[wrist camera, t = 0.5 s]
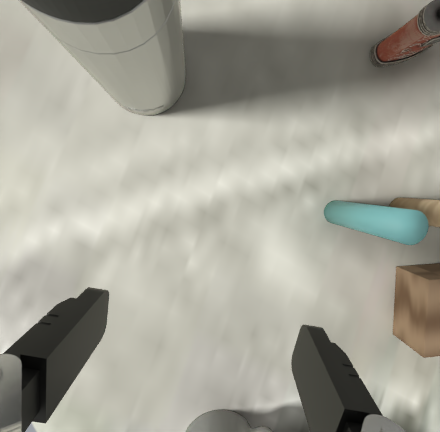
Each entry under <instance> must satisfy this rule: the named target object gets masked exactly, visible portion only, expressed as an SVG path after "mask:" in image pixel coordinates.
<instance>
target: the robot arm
mask: <svg viewBox="0 0 440 432" xmlns="http://www.w3.org/2000/svg"><path fill="white" fill-rule="evenodd" d="M19 1H20V2H21V3H22V4H23V5H24V6H25V7H26V8H27V9H28V10H29V11H30V13H31V14H32V15H33V16H34V17H35V18H36V19H37V20H38V21H39V22H40V23H41V24H42V25H43V26H44V27H45V28H46V29H47V30H48V31H49V32H50V33H51V34H52V35H53V36H54V37H55V38H56V39H57V40H58V42H59V43H60V44H61V45H62V46H63V47H64V48H65V49H66V50H67V51H68V52H69V53H70V54H71V55H72V56H73V57H74V58H75V59H76V60H77V61H78V62H79V64H80V65H81V66H82V67H83V68H84V69H85V70H86V71H87V72H88V73H89V74H90V75H91V76H92V77H93V78H94V79H95V80H96V81H97V82H98V83H99V84H100V85H101V87H102V88H103V89H104V90H105V91H106V92H107V93H108V94H109V95H110V96H111V97H112V98H113V99H114V100H115V101H116V102H117V103H118V104H119V105H120V106H122V107H123V108H125V109H126V110H128V111H130V112H133V113H136V114H139V115H154V114H158V113H161V112H164V111H166V110H167V109H169V108H170V107H172V106H173V105H174V104H175V103H176V102H177V100H178V99H179V97H180V96H181V94H182V91H183V89H184V86H185V79H186V72H185V55H184V43H183V31H182V18H181V6H180V0H19ZM108 301H109V292H108V290H102V289H96V288H90V287H89V288H87V289H86V290H85V291H84V292H83V293H82V294H81V295H80V296H79V297H78V298H77V299H76V298H69V299H67V300H65V301H63V302H61V303H59V304H57V305H56V306H55V307H54V308H53V309H52V310H51V311H49V312H48V313H47V315H46V316H44V317H43V318H42V319H41V320H40V321H39V322H38V324H37V323H36V324H35V325H34V326H33V327H32V328H31V329H30V330H29V331H27V332H26V333H25V334H24V335H23V336H22V337H21V338H20V339H19V340H18V341H16V342H15V343H14V344H13V345H12V346H11V347H10V348H9V349H8V350H7V351H5V352H4V353H3V354H0V432H25V431H26V429H27V428H28V426H29V425H30V424H31V422H32V421H33V422H40V423H46V422H47V421H48V419H49V418H50V416H51V415H52V413H53V412H54V410H55V409H56V407H57V406H58V404H59V403H60V401H61V400H62V398H63V397H64V395H65V393H66V392H67V390H68V389H69V387H70V386H71V384H72V383H73V381H74V380H75V378H76V377H77V375H78V374H79V372H80V371H81V369H82V368H83V366H84V365H85V363H86V362H87V360H88V359H89V357H90V356H91V354H92V353H93V351H94V350H95V348H96V347H97V345H98V344H99V342H100V340H101V339H102V337H103V335H104V332H105V329H106V324H107V313H108ZM292 372H293V376H294V379H295V382H296V386H297V389H298V392H299V395H300V399H301V402H302V405H303V409H304V412H305V415H306V419H307V422H308V425H309V428H310V432H406V431H405V430H404V429H403V428H401V427H400V426H399V425H398V424H396V423H395V422H394V421H392V420H390V419H388V418H386V417H384V416H383V415H382V414H381V412H380V410H379V409H378V407H377V405H376V404H375V402H374V400H373V399H372V397H371V395H370V393H369V392H368V390H367V388H366V387H365V385H364V383H363V382H362V380H361V378H359V375H358V373H357V372H356V370H355V368H353V365H352V363H351V362H350V360H349V358H348V356H347V355H346V353H344V352H343V351H342V350H341V349H340V348H339V347H338V346H337V345H336V344H335V343H331V342H330V340H329V338H328V336H327V334H326V333H325V331H324V329H323V328H321V327H315V326H309V325H302V326H301V329H300V332H299V335H298V338H297V342H296V345H295V348H294V352H293V355H292Z"/></svg>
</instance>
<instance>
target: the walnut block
mask: <svg viewBox="0 0 440 432" xmlns="http://www.w3.org/2000/svg"><path fill="white" fill-rule="evenodd" d="M393 335H395V336H396V337H397V338H399V339H400V340H401V341H403V342H404V343H405V344H406V345H408V346H409V347H410V348H412V349H413V350H414V351H416V352H417V353H418V354H420V355H421V356H422V357H424V358H425V357H434V356H440V263H437V264H424V265H410V266H397V267H396V284H395V303H394V322H393Z"/></svg>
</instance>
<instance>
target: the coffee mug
mask: <svg viewBox="0 0 440 432" xmlns="http://www.w3.org/2000/svg"><path fill="white" fill-rule="evenodd" d="M186 432H273V431H272V430H271V429H270V428H268V427H265V426H261V427H257V428H253V429H251V427H250V425H249V423H248V422H247V421H246V419H245V418H243V417H242V416H241V415H239V414H238V413H236V412H233V411H229V410H214V411H210V412H207V413H205V414H202V415H201V416H199V417H198V418H196V419H195V420H194V421H193V422H192V423H191V424H190V425H189V427H188V428H187V430H186Z"/></svg>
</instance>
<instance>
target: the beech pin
mask: <svg viewBox="0 0 440 432" xmlns="http://www.w3.org/2000/svg"><path fill="white" fill-rule="evenodd" d="M389 207H395V208H403V209H412V210H418V211H421V212H422V213H423V214H425V216H426V217H427V220H428V224H429V226H435V227H440V200H431V199H416V198H396V199H394V200H393V201H392V202H391V203H390V206H389Z"/></svg>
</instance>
